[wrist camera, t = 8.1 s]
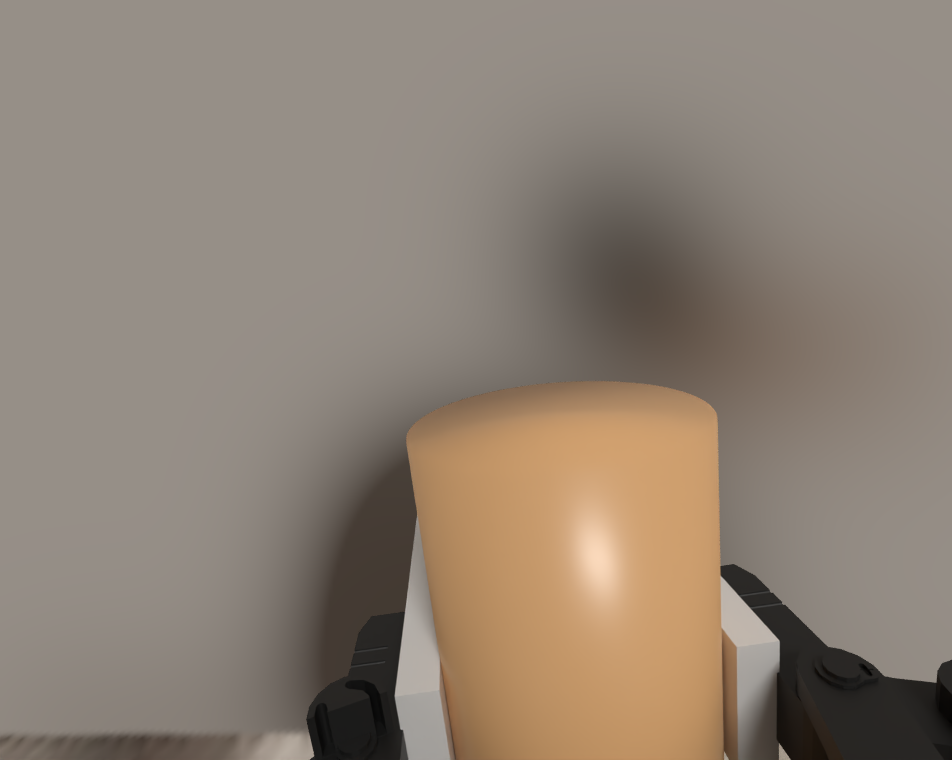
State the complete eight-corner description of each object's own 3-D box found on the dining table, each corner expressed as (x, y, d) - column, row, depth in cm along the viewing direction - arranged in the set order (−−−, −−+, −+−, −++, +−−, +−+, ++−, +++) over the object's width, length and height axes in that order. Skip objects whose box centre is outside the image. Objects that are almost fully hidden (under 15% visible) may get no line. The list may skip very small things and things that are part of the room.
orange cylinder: (467, 1112, 10) (353, 481, 7) (506, 824, 15) (449, 389, 12) (765, 1191, 9) (767, 470, 6) (699, 849, 14) (684, 373, 11)
